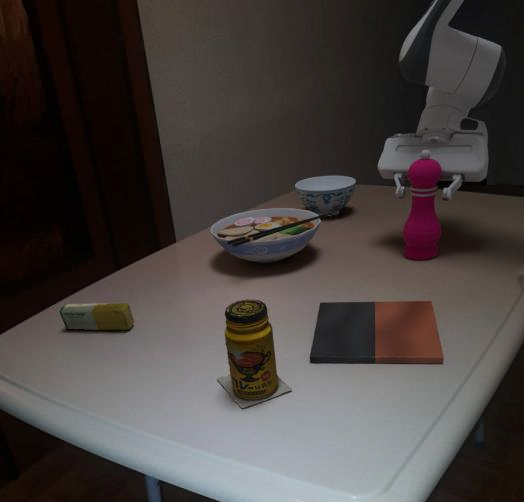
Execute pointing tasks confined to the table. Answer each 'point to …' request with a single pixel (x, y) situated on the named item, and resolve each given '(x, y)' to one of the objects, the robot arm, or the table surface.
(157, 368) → the table surface
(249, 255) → the ramen bowl
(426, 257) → the pepper mill
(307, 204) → the chinaware
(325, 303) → the sorting board
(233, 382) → the condiment
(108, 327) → the medication box
